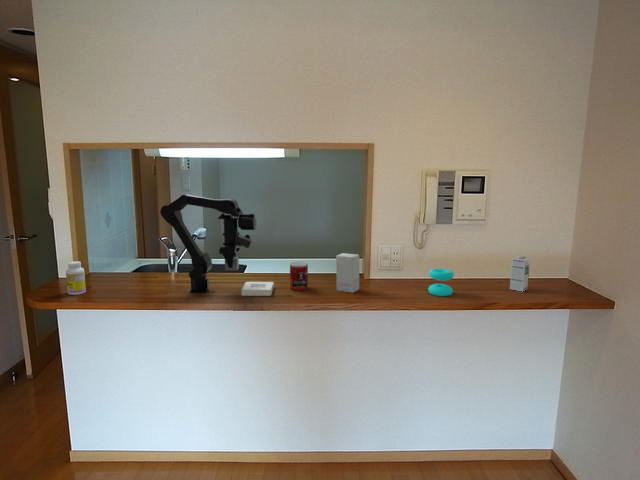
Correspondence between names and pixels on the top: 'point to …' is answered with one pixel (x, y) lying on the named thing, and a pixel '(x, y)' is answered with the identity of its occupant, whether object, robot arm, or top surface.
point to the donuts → (441, 288)
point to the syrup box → (519, 273)
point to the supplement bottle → (75, 278)
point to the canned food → (298, 276)
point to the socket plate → (257, 289)
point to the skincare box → (347, 272)
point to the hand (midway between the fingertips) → (231, 266)
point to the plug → (235, 264)
